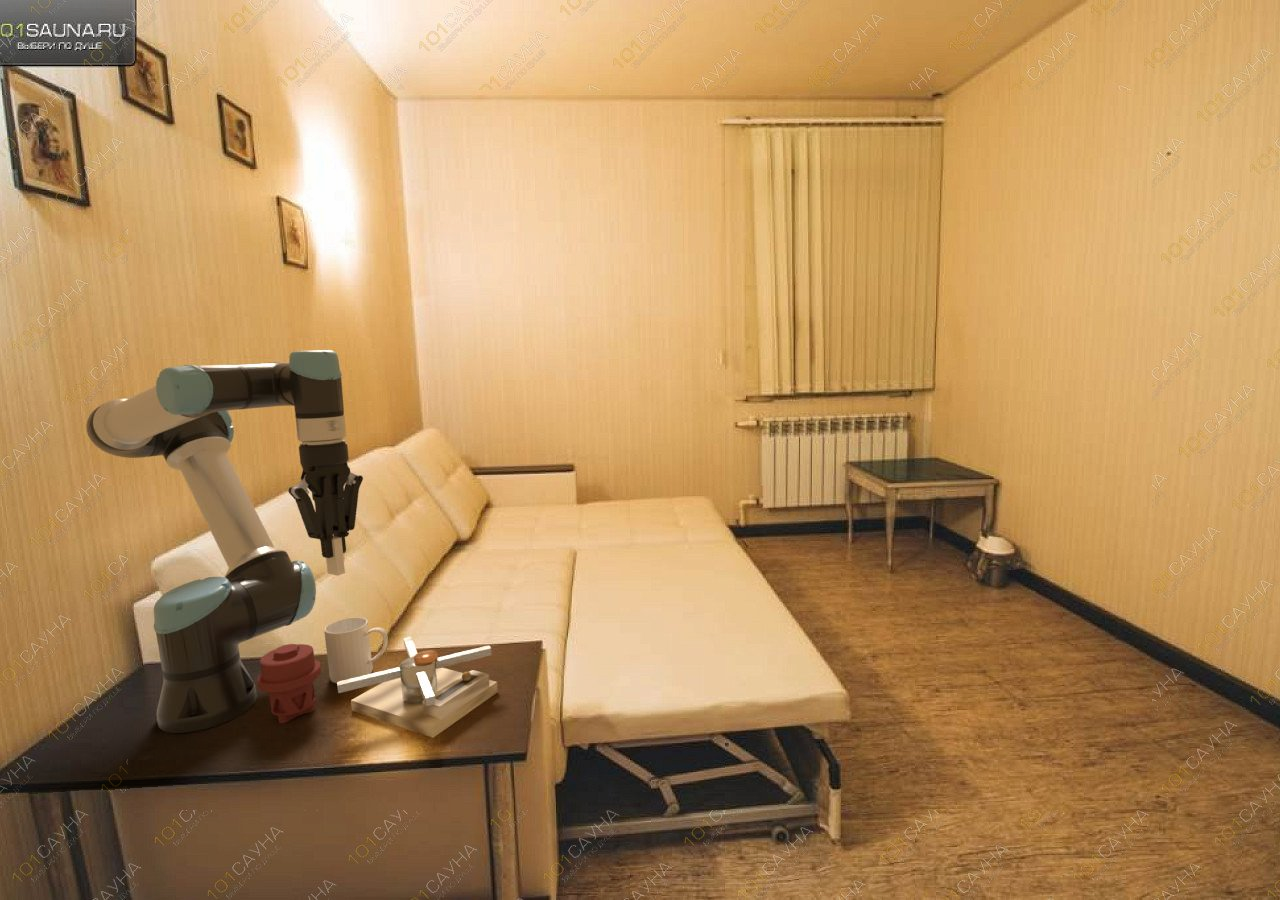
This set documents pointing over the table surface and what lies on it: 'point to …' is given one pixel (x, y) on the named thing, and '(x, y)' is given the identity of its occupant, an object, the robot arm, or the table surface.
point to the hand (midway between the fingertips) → (336, 573)
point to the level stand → (450, 701)
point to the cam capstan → (415, 672)
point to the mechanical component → (289, 680)
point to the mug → (350, 648)
